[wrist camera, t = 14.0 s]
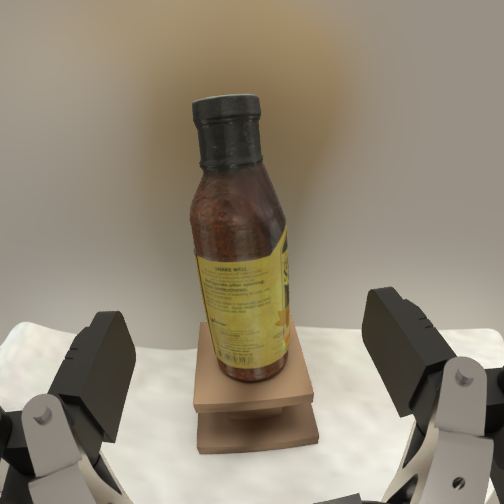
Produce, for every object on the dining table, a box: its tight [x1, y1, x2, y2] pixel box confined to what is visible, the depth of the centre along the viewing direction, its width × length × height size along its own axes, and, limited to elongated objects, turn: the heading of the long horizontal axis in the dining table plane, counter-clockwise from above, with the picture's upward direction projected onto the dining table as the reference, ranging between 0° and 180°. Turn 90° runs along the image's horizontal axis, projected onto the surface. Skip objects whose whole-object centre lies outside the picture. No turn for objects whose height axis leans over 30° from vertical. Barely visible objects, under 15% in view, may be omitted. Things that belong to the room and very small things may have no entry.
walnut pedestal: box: [193, 315, 319, 454], centre depth 26 cm, size 11×11×8 cm
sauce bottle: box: [190, 94, 290, 381], centre depth 20 cm, size 6×6×20 cm
